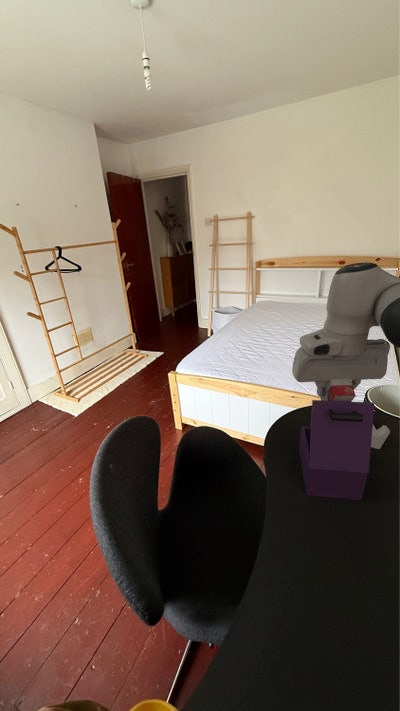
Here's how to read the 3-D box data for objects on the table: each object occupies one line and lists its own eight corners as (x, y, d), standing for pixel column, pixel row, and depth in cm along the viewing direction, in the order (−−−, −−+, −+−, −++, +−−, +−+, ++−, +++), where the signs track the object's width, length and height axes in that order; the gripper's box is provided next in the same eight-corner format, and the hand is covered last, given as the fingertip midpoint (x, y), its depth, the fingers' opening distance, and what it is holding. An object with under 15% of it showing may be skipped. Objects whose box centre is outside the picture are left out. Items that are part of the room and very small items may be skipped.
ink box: (356, 396, 64) (344, 351, 70) (332, 396, 64) (323, 351, 71) (343, 412, 71) (333, 370, 78) (321, 412, 72) (313, 369, 78)
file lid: (312, 399, 67) (316, 407, 62) (373, 402, 64) (382, 410, 60) (309, 466, 70) (312, 478, 65) (367, 471, 67) (375, 483, 63)
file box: (299, 449, 87) (301, 426, 83) (345, 453, 85) (349, 428, 81) (306, 495, 73) (309, 468, 70) (361, 500, 71) (367, 473, 67)
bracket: (378, 451, 85) (390, 431, 82) (353, 445, 86) (364, 425, 82) (362, 422, 97) (373, 404, 94) (341, 417, 97) (350, 399, 94)
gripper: (383, 333, 67) (371, 385, 73) (292, 337, 67) (288, 389, 73) (400, 344, 61) (385, 400, 67) (301, 348, 62) (295, 403, 68)
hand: (334, 394), depth 70 cm, fingers closed on ink box, 5 cm apart
